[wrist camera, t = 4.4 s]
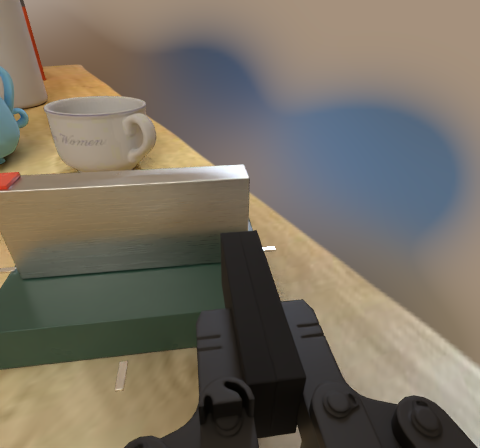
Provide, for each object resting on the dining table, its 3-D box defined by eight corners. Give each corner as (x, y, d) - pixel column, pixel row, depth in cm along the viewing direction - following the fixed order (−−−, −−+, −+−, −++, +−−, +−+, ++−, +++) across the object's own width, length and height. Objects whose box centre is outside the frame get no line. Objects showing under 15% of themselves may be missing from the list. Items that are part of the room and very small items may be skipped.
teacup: (49, 166, 42) (28, 100, 38) (127, 145, 49) (117, 87, 44) (101, 206, 34) (81, 127, 30) (186, 175, 41) (180, 107, 36)
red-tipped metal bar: (243, 242, 24) (244, 160, 21) (247, 260, 22) (249, 174, 19) (33, 259, 22) (-3, 171, 19) (21, 279, 21) (-21, 188, 17)
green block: (251, 217, 33) (252, 188, 31) (311, 401, 17) (319, 363, 16) (52, 231, 30) (41, 200, 29) (-76, 455, 15) (-116, 419, 13)
